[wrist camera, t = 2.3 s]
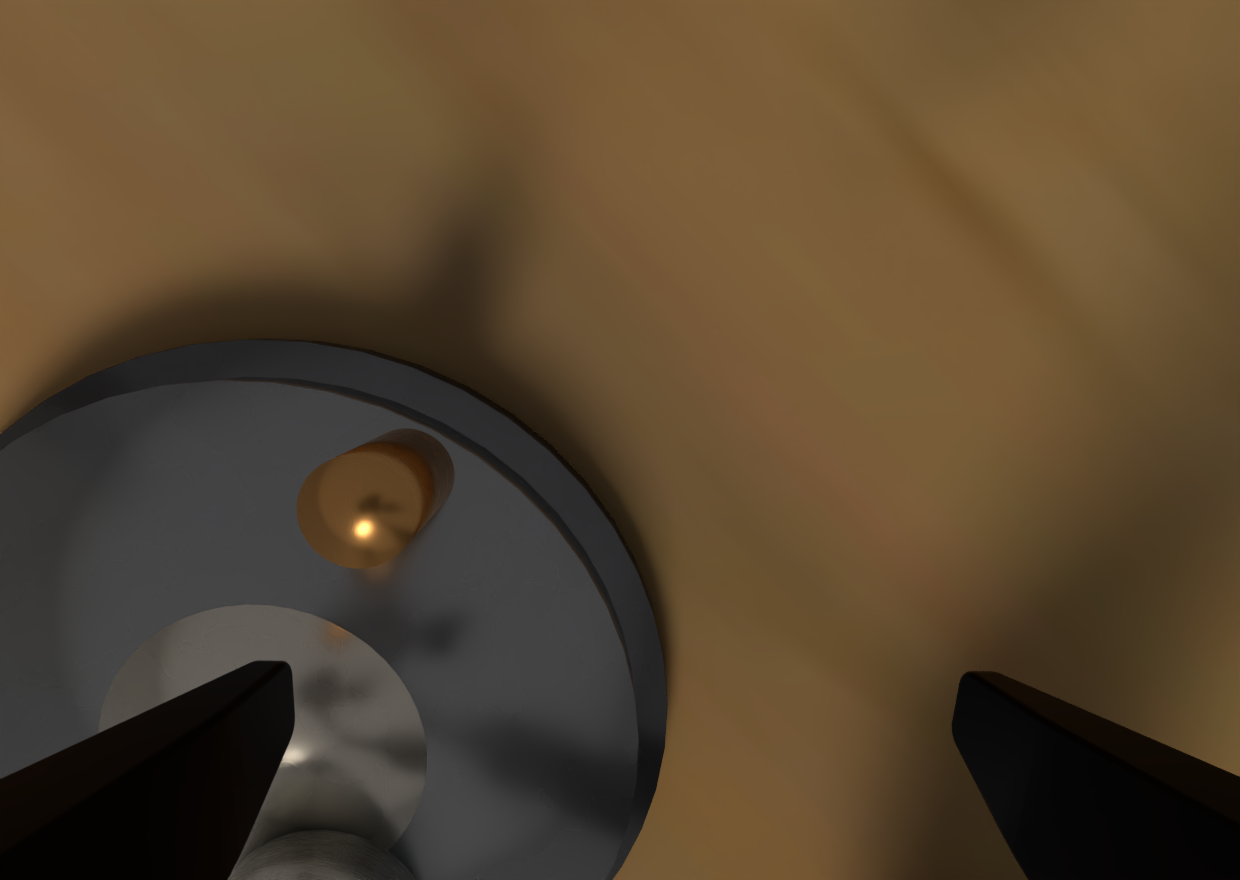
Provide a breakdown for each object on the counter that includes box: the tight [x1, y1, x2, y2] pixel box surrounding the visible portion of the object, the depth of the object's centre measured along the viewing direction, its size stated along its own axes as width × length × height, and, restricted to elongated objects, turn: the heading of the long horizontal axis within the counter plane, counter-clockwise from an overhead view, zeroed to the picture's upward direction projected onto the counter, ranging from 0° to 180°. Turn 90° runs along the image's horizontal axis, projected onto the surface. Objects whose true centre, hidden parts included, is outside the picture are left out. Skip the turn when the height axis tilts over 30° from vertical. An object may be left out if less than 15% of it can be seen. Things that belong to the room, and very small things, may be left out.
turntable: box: [0, 377, 639, 880], centre depth 17 cm, size 21×21×5 cm
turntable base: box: [0, 339, 667, 880], centre depth 20 cm, size 23×23×1 cm
